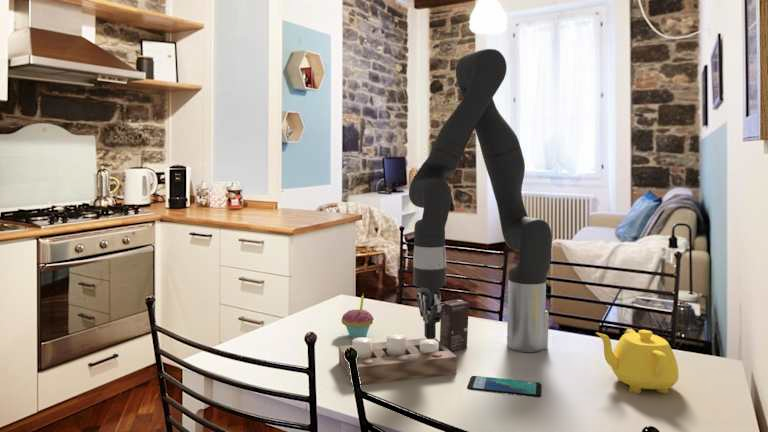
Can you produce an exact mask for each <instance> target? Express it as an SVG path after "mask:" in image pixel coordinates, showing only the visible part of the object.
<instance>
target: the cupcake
mask: <svg viewBox="0 0 768 432" xmlns="http://www.w3.org/2000/svg"><path fill="white" fill-rule="evenodd" d="M364 294H365V293H364V292H363V293H362V295H361V298H360V305H359V309H351V310H350V309H349V310H347V312H345V313H344V314H343V315H342V317H341V324H342V325H344V326H345V328H346V330H347V333H348V336H349V337H350V338H352V337H353V339H355V338H359V337H365V336H366V337H367V336H368V332H369V330H370V326H371V325H372V324H373V321H374V316H373V315H372V313H371V312H369V311H368V310H365V309H363V307H364Z"/></svg>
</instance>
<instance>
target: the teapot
mask: <svg viewBox="0 0 768 432" xmlns="http://www.w3.org/2000/svg"><path fill="white" fill-rule="evenodd" d="M653 333H654V332H652V330H647V329H639V330H638V332H637V331H635V329H632V328H627V329H626V330H625V333H624V334H622V335H621V337H620V338H619V340H618V342H617V343H616V345H615V347H614V349H613V348H612V342H611V339H610V337H609V336H608V335H607V334H604V333H600V332H595V334H596V335H598V337H600V338H601V340H602V343H603V354H604V359H605V361H606V363H607V364H608V365H609V366H610V367H611V369H612V372H613V374H614V375H615V377H616V378H617V380H618V381H620V382H622V383H624V384H626V385H628V386H629V387H628V391H629V392H630V393H633V394H640V393H642V389H645V390H656V392H658V393H661V394H669V393H670V390H669V389H670V388H671V389H672V387H673V386H675V384H677V382H678V380H679V377H680V376H679V367H678V363H677V359H676V357H675V354H674V352H673V350H672V349H673V348H672V347H671V345H670V344H669V342H668V341H667V340H666V339H665V338H663V337H661V336H659V335H657V334H653Z"/></svg>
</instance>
